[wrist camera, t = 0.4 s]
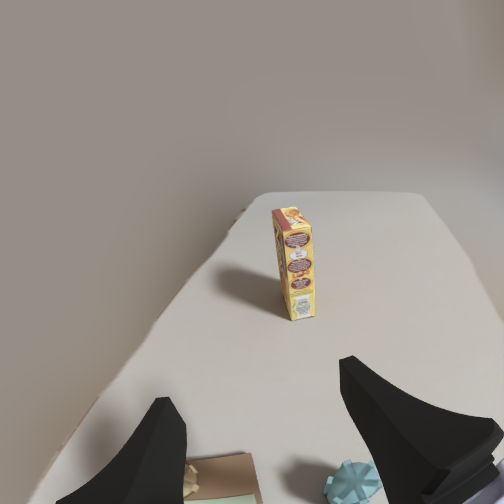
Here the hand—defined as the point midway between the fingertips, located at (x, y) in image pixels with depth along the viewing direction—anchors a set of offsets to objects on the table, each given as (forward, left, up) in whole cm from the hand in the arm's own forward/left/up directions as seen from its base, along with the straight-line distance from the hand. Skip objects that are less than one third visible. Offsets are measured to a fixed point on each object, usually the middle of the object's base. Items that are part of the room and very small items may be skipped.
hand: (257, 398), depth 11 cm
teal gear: (-2, -6, -20) cm, 21 cm away
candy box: (+30, -10, -20) cm, 37 cm away
